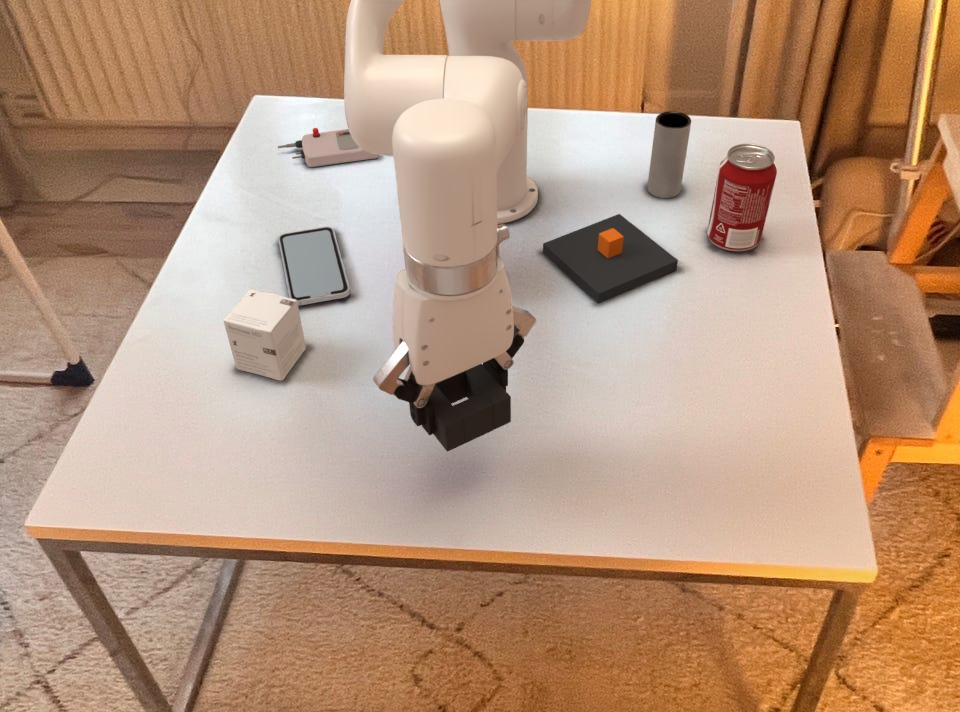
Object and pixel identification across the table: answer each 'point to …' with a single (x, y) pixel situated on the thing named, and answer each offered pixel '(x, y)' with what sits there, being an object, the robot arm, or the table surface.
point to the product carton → (265, 334)
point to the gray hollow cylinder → (668, 154)
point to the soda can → (742, 197)
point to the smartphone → (313, 266)
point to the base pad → (609, 257)
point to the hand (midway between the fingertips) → (460, 408)
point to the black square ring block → (469, 407)
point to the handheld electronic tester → (329, 148)
